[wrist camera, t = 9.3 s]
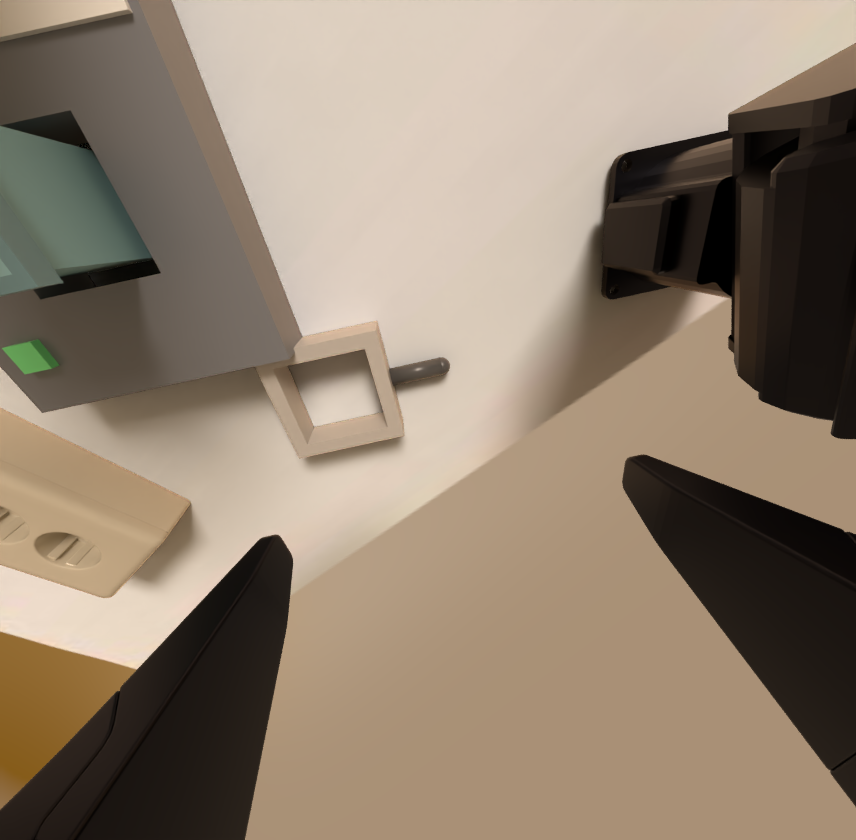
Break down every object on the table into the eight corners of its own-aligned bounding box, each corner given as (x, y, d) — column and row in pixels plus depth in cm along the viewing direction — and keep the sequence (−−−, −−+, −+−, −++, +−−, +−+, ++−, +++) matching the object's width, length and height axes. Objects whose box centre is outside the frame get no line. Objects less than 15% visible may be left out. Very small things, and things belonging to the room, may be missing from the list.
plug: (131, 145, 14) (-131, 60, 7) (189, 262, 16) (38, 286, 9) (26, 168, 14) (-342, 106, 7) (100, 281, 16) (-120, 321, 9)
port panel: (147, -61, 11) (61, -166, 8) (303, 340, 18) (287, 361, 15) (-202, 15, 11) (-411, -61, 8) (91, 386, 18) (34, 416, 15)
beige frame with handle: (439, 307, 18) (444, 315, 16) (455, 407, 21) (461, 423, 20) (262, 345, 18) (250, 357, 16) (306, 440, 21) (299, 458, 20)
